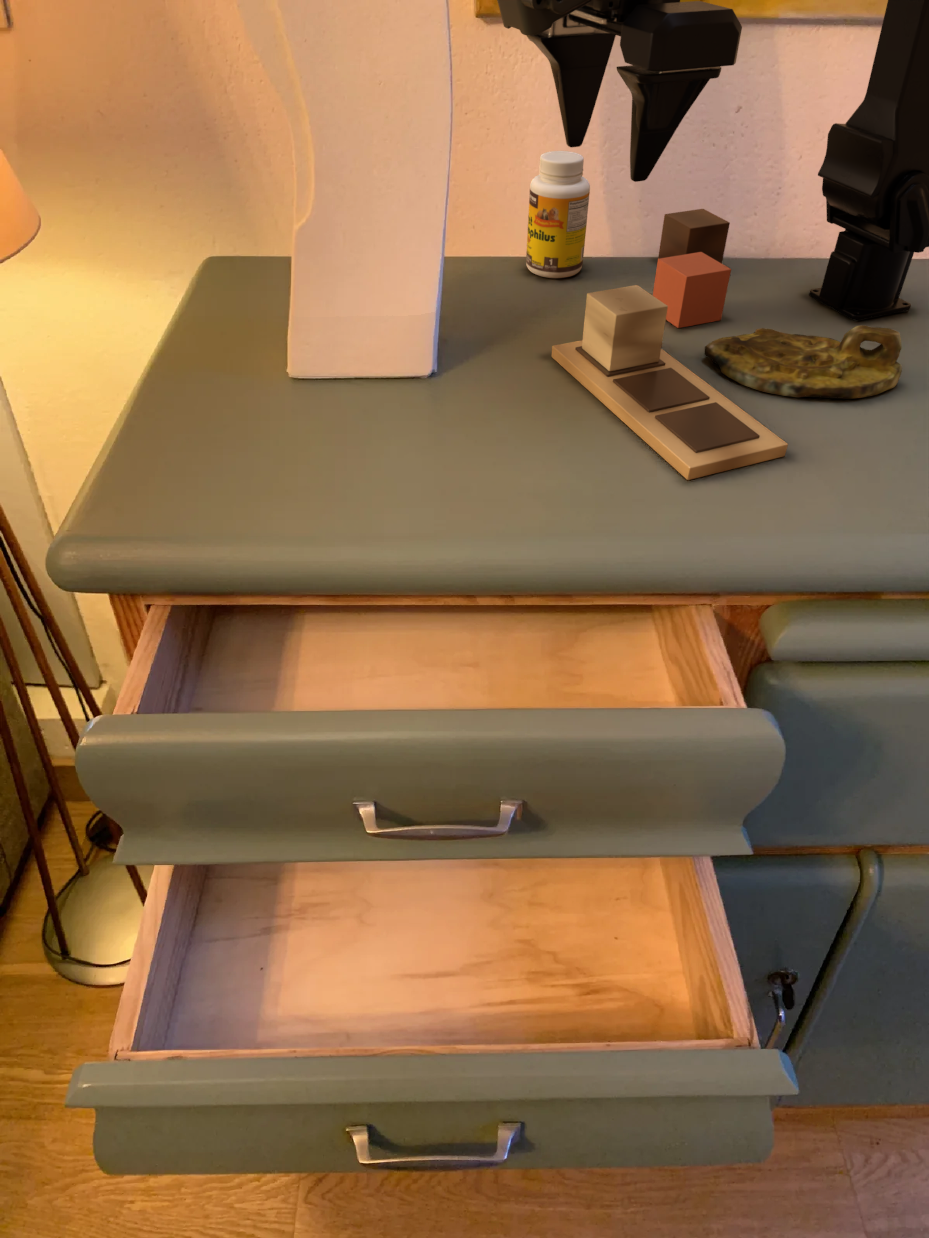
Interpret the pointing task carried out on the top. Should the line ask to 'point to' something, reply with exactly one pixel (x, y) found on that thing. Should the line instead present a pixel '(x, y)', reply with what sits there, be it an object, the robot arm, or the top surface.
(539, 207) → the supplement bottle
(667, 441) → the word board
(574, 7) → the robot arm
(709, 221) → the dark brown cube
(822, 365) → the olive brown carved pendant
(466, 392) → the top surface
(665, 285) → the orange-red cube
